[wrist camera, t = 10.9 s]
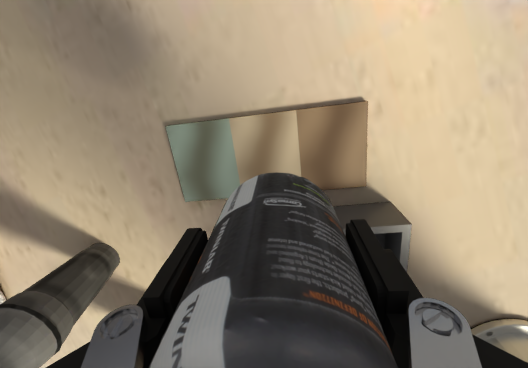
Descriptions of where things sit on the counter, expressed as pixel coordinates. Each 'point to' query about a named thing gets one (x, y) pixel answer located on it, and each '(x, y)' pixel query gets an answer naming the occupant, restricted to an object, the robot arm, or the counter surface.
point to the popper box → (381, 226)
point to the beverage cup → (52, 307)
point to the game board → (272, 149)
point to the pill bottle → (275, 288)
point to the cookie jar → (2, 297)
